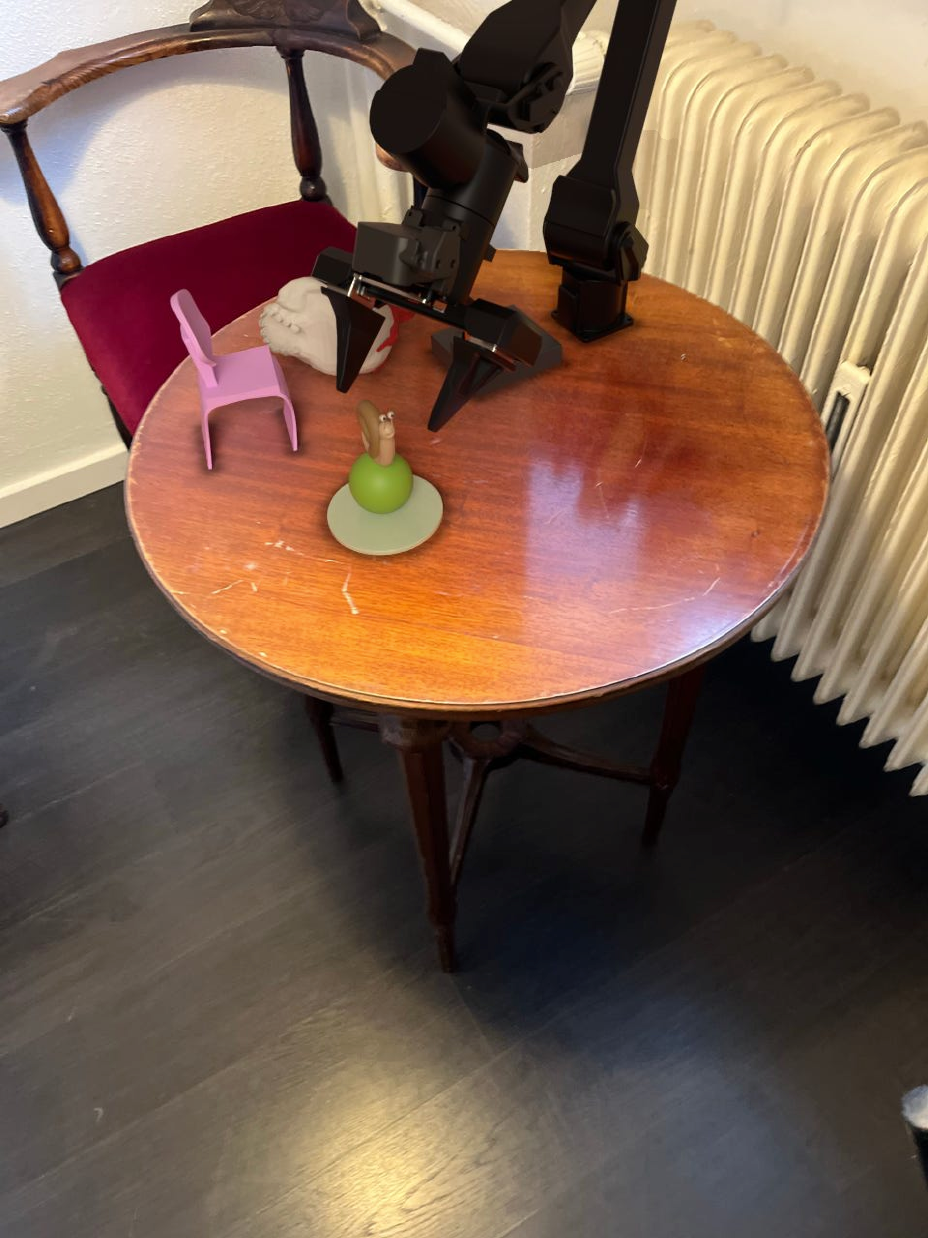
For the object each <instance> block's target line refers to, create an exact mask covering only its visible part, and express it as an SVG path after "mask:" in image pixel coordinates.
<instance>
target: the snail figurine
mask: <svg viewBox="0 0 928 1238" xmlns="http://www.w3.org/2000/svg"><path fill="white" fill-rule="evenodd" d="M355 411H356V419H357V422H358V424H359V427H360V430H361V439H362V443H363V446H364V448H365V452H364V453H362V454H360V456H358V457H357V458H356V459H355V460H354V462H353V464H352V465H351V467H350V470H349V473H348V483H349V489H350V492H351V494H352V496H353V498H354V500H355V501H356V502H357V503H358V504H359V505H360V506H361V507H362V508H363V509H365V510H367V511H369V512H372V513H376V514H387V513H391V512H394V511H396V510H398V509H399V508H401V507H402V506H403V505H404V504H405V503H406V502H407V500H408V499H409V497H410V495H411V493H412V489H413V471H412V468H411V466H410V464H409V462H408V461H407V460H406V459H405V458H404V457H403V456H402V455H401V454H399V452H396V440H395V434H396V427H395V426H394V424H393V423H394V422H393V418H394V417H395V413H394V411H393V410H389V411H388V412H387V413H386V414H384V413H381V412H380V410H379V408H378V407H377V405H376V404H375V403H374V402H373V401H372V400H370V399H365V398H364V399H361V400H360V401H358V403H357V405H356V409H355ZM387 418H388V419H390V420H387Z"/></svg>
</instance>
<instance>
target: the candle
mask: <svg viewBox="0 0 928 1238" xmlns="http://www.w3.org/2000/svg"><path fill="white" fill-rule="evenodd" d="M320 286H323V287H326V288H327V286H326V285H325V284H323V283H321V282H319V281H317V280H316V279H314V278H312V277H310V276H303V277H299V278H295V279H291V280H290V281H289V282H288V283H286V284H285V285H283V286H282V288H280V289H279V291H278V293H277V294H278V296H277V299H276V301H274V302H270V303H269V304H266V305H265V306H264V308H263V311H262V313H260V315H259V318H260V319H259V320H258V326H259V327H261V329H260V330H259V335H260V336H261V337H262V342H263V344H266V345H268V347H269V350H271V351H272V352H273V354H280V355H282V356H284V357H294V358H296V359H298V360H299V361H300V362H302V363H304V364H306V365H310V366H311V367H312V368H313V369H314V370H316V371H318V372H320V373H323V374H325V375H328V376H333V377H336V367H337V329H336V318H335V314H334V311H333V308H332V306H331V304H330V301H329V299H328V297H327V296H325V295H323V294H321V289H320ZM410 294H411V293H410ZM407 300H409V301H412V300H411V299H407ZM412 302H415V303H417V304H418V302H416V301H412ZM373 310H374V311H375V312H377V313H379V314H381V315H383V316H384V317H386V319H385V321H384V323H383V325H382V327H381V329H380V331H379V333H378V335H377V337H376V339H375V341H374V343H373V345H372V347H371V349H370V351H369V353H368V355H367V358H366V360H365V362H364V364H363V366H362V368H361V370H360V372H359V374H358V375H362V374H368V373H370V374H374V373H376V372H378V371H380V370H381V369H382V367H383V366H384V365H385V364H386V363H387V361H388V358H389V354H390V352H391V349H392V347H393V345H395V344H396V343H397V341H398V338H399V336H400V333H399V330H400V329H399V328H400V325H401V324H403V323H406V322H408V321H410V319H413V318H414V317H415V316H416V314H415V313H413V312H410V311H407V310H405V309H402V308H399V307H397V306H394V305H391V304H387V305H385V306H383V307H382V308H380V309H376V308H374V307H373Z"/></svg>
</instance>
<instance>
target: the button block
mask: <svg viewBox="0 0 928 1238" xmlns="http://www.w3.org/2000/svg"><path fill="white" fill-rule="evenodd" d="M505 307H506V308H509V309H512V310H515V311H518V312H519V313H520V314H521V315H523V316H524V317H525V318H527V319H528V320H529V321H531V322H532V323H533V324H535V325H536V326H537V327H538V328H540V331H541V335H542V347H541V350H540V352H539V355H538V357H537V359H536V362H535V364H534V367H531V366H528V365H525V364H522V363H520V362H517V361H514V362H513V364H514V365H515V366H517V368H516V370H515V372H510V371H507V370H506V371H503V372H502V373H501V374H500V375H499V376H497V377H496V378H495V379H494V380H492V381H491V382H490V383H489V384H487V385H486V386H485V387H484V388H482V389H481V390H480V391H479V392H478V393H476V394H475V395H474V397H476V398H479V397H482V396H484V395H486V394H489V393H491V392H493V391H496V390H500V389H501V388H504V387H506V386H508V385H511V384H513V383H515V382H519V381H521V380H523V379H526V378H528V377H531V376H534V375H535V374H538V373H540V372H543V371H546V370H548V369H551V368H553V367H556V366H558V365H561V364H562V359H563V357H562V355H563V344H562V343H560V342H559V341H558V340H557V339H556V338H554V337H553V336H552V335H551V334H549V333H548V332H547V331H546V330H545V329H544V328H543V327H541V325H539V324H537V323H536V321H534V320H533V319H532V318H531V317H529V316H528V315H527V314H526V313H525V312H523V311H522V310H521V309H520V308H518V307H517V306H516V305H515V304H514V303H513V304H510V305H508V306H505ZM454 336H457V337H459V338H462V339H465V332H464V331H461V330H459V329H456V328H453V327H448V328H445V329H443V330H440V331H437V332H435V333H432V334H430V343H431V344H430V345H431V354H432V355H433V356H434V357H436V359H437V360H438V361H439V362H440V363H442V365H444V367H446V369H447V370H449V368H450V366H451V364H452V360H453V337H454Z"/></svg>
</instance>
